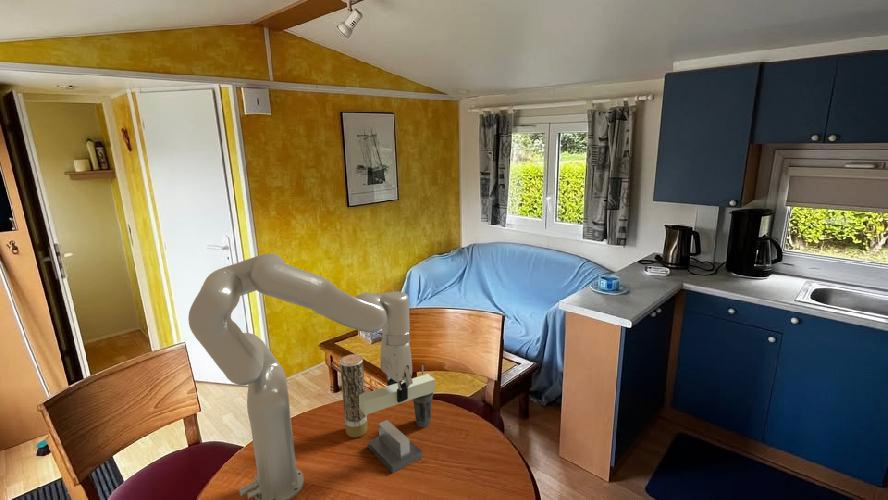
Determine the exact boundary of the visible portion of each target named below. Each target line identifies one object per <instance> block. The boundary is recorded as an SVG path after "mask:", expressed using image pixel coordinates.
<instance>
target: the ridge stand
mask: <svg viewBox="0 0 888 500" xmlns="http://www.w3.org/2000/svg"><path fill="white" fill-rule="evenodd" d="M378 434H379V435H378V436H377V437H374V438H373V439H370V440H368V441H367V448H368V449H369V451H371V453H372V454H373V455H374V456H376V457H377V459H378V460H379V461H380V462H381V463H382V464H383V465H384V466H385V467H386V468H387V469H388V470H389V471H390V472H391V473H392V474H394V473H395V472H398V471H399V470H401V469H404V468H405V467H407V466H409V465H410V464H413V463H415V462H416V461H418V460H419V459H422V458H423V451H422V450H421V449H420V448H419V447H418V446H417V445H416V444H415V443H413V442H412V441H411V440H410V438H409V437H407V436H406V435H405V434H404V433H403V432H402V431H400V430H399V429H398V428H397V427H396V426H395V425H394V424H392V423H391V422H390V421H389V420H388V419H386V420H384V421H381V422H380V423H378Z"/></svg>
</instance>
